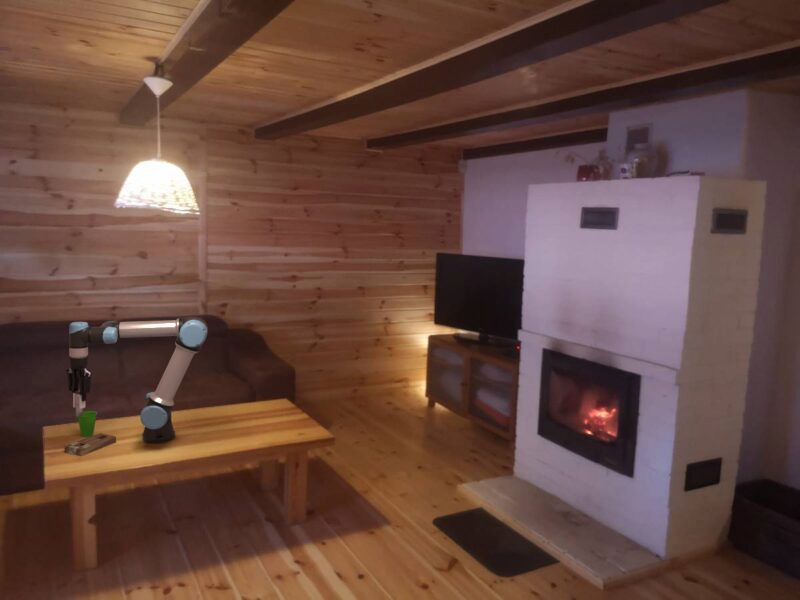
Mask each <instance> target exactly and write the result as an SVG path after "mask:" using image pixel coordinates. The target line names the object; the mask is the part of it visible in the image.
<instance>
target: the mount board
mask: <svg viewBox="0 0 800 600" xmlns="http://www.w3.org/2000/svg"><path fill="white" fill-rule="evenodd" d="M116 443H117V436H116V435H111V434H106V433H101V432H99V433H96V434H93V436H91V437H84V438H82V439H79V440H77V441H75V440H74V441H73V442H70V443H68V444H66V445H63V446H64V453H66V454H71V455H75V456H78V457H83V456H86V455H88V454H90V453H93V452H95V451H97V450H101V449H103V448H106V447H108V446H111V445H113V444H116Z"/></svg>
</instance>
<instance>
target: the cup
mask: <svg viewBox="0 0 800 600" xmlns="http://www.w3.org/2000/svg"><path fill="white" fill-rule="evenodd" d="M97 414H98V412H97V411H95V410H87V411H86V410H85V411H84V410H83V416H81V417H77V419H78V425H79V429H80V436H81V437H82V438H88V437H91V436H93V435H94V432H95V426H96V421H97V420H96V418H97Z"/></svg>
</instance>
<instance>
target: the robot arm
mask: <svg viewBox="0 0 800 600" xmlns="http://www.w3.org/2000/svg"><path fill="white" fill-rule="evenodd" d="M208 331H209V327H208V323H207V321H206V320H205V319H203V318H202V317H201V316H200V317H199V316H190V317H189V316H188V317H178V318H177V319H176V320H173V319H172V320H171V319H170V320H169V319H168V320H145V321H143V320H142V321H141V320H140V321H139V320H138V321H113V320H108V321H106V322H104V323H102V324H101V325H100V326H89V323H88V322H86V321H74V322H71V323H70V324H69V330H68V341H69V344H68V345H69V347H68V348H69V352H68V354H69V355H68V356H69V366H70V368H67V369H65V371H66V374H67V387H68V388H67V389H68V391H69V392H71V393H72V394H71V395H72V407H73V408H76V390H77V389H80V394H79V409H81V408H83V409H84V408H86V401H87V394H89V393H90V392H91V378H92V374H93V372H92V371H88V367H87V366H88V365H89V344H90V345H91V344H100V345H101V344H103V345H105V344H106V345H109V344H116V343H117V341H118V339H124V338H151V337H172V336H173V337H176V339H175V341H174V343H175V349H174V352H173V354H172V356H171V358H170V359H169V362H168V364H167V366H166V368H165V371H164V372H163V374H162V376H161V379H160V381H159V383H158V385H157V387H156V389H155V391H151V392H147V393H146V395H145V404H144V407H143V408H142V410H141V412H140V422H141V424H142V425H143V426H144V428H143V432H142V435H141V438H142V441H143V442H144V443H148V444H162V443H168V442H171V441H173V440H175V439H176V431H175V429H174V426H173V422H172V409H173V407H174V406H175V402H174V398H175V395H176V393H177V391H178V389H179V387H180V385H181V383H182V381H183V378H184V376H185V374H186V373H187V370H188V368H189V366H190V363H191V361H192V359H193V357H194V356H195V354H197V353H199V352H200V351H201V348H202V346H203V344H204V342H205V341H206V339H207V336H208Z"/></svg>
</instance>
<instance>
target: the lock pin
mask: <svg viewBox="0 0 800 600" xmlns="http://www.w3.org/2000/svg"><path fill="white" fill-rule="evenodd" d="M79 394H80V388H78V389H77V390H76V407H75V417H76V418H78V417H81V416H83V412H84V408H81V409H79Z"/></svg>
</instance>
